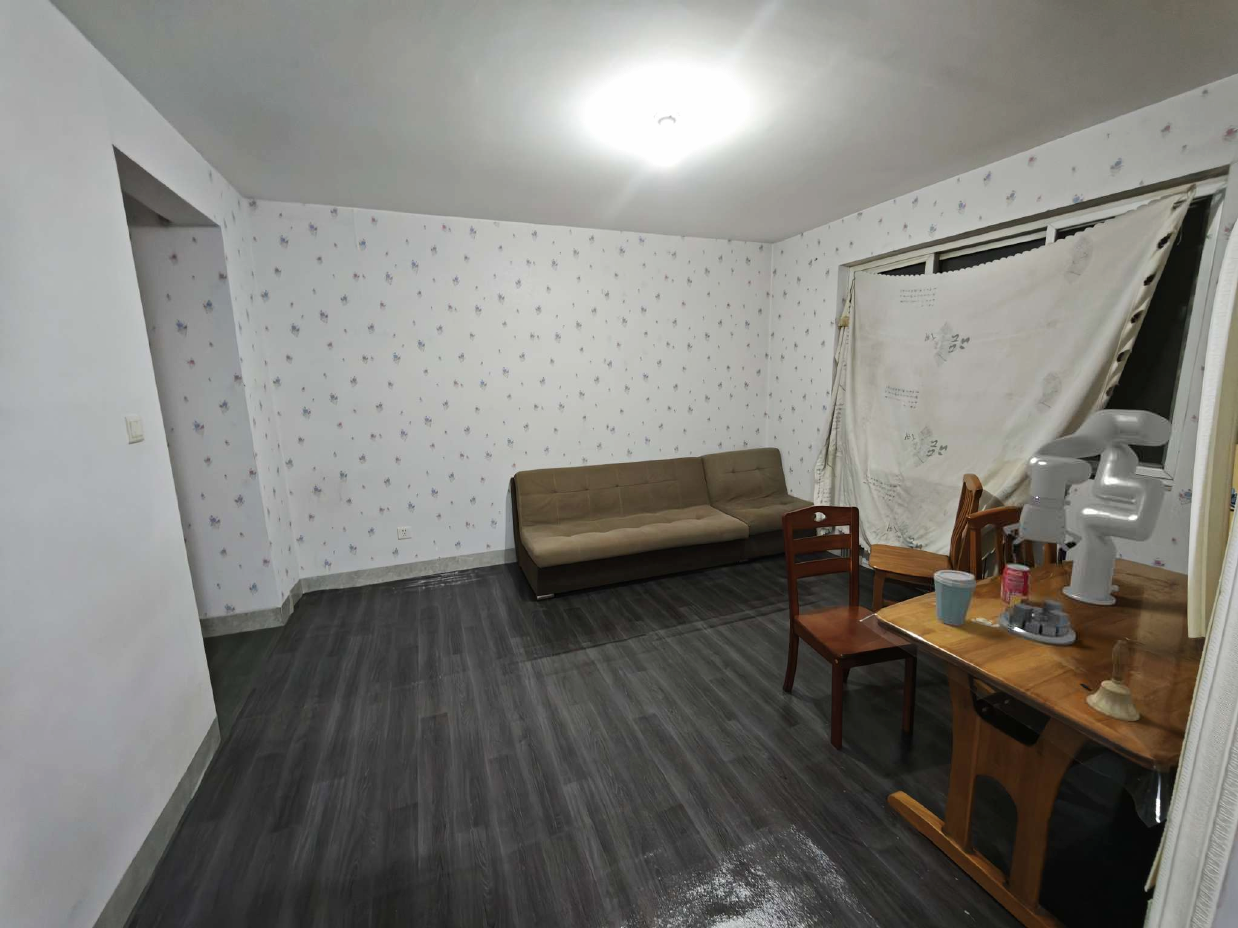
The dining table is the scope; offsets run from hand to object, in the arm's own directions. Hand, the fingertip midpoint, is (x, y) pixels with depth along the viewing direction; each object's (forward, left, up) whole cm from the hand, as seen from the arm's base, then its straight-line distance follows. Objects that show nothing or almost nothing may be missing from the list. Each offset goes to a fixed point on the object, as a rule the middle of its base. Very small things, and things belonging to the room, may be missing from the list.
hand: (1037, 559), depth 142 cm
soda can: (-9, -12, -20) cm, 25 cm away
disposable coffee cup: (+22, -6, -20) cm, 30 cm away
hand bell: (+22, +35, -20) cm, 46 cm away
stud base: (+3, +4, -20) cm, 20 cm away
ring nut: (+3, +4, -18) cm, 19 cm away
